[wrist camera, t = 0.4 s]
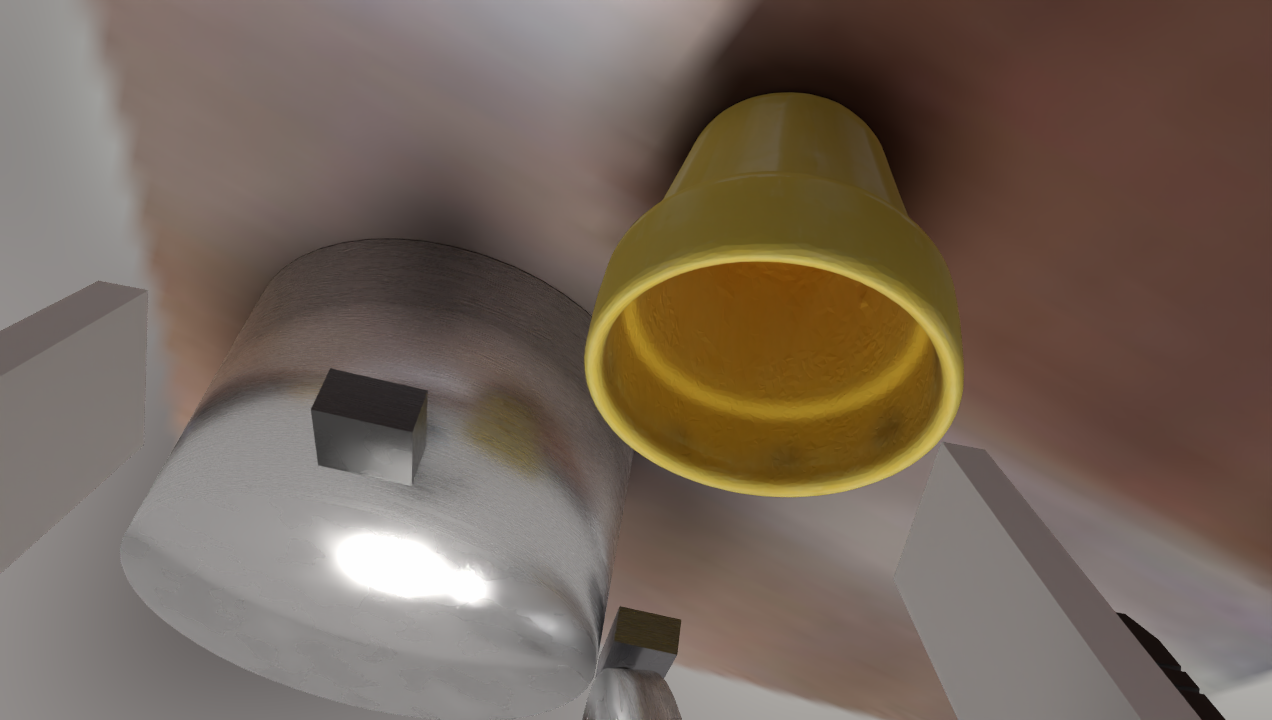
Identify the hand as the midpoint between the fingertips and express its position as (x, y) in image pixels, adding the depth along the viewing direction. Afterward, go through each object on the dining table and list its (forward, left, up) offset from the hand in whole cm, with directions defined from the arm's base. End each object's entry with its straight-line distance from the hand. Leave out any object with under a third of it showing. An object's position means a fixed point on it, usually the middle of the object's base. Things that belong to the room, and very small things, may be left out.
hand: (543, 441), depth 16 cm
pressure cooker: (+22, -4, -17) cm, 29 cm away
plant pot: (+6, +5, -18) cm, 19 cm away
